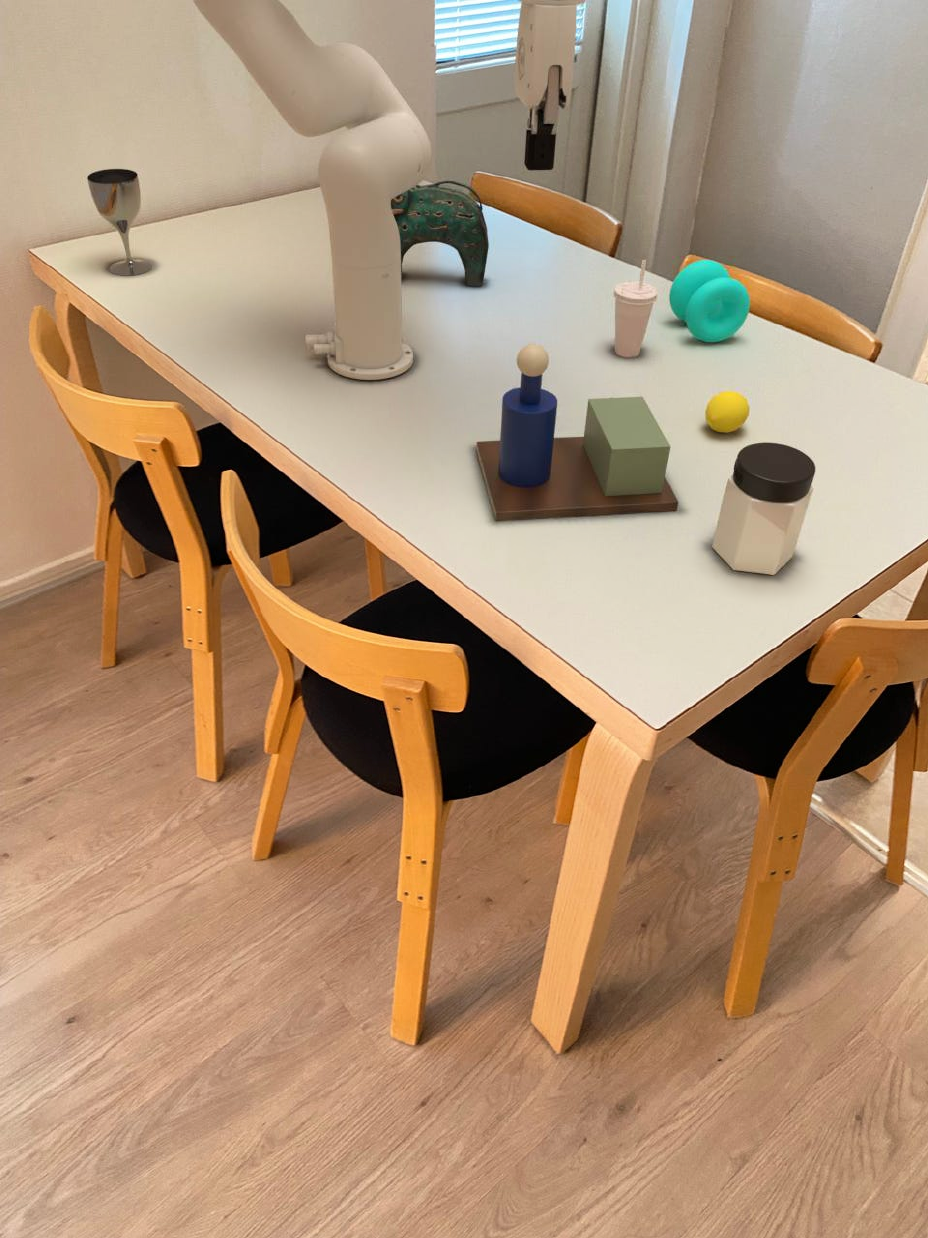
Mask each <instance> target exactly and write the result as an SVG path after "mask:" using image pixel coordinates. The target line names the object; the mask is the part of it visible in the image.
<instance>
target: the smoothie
mask: <svg viewBox="0 0 928 1238" xmlns="http://www.w3.org/2000/svg"><path fill="white" fill-rule="evenodd" d="M646 264H647V260H646V259H642V260H641V266H640V272H639V279H638V281H624V282H620V283H617V284H616V285H615V286H614V288H613V293H612V296H613V298H614V300H615V301H614V353H615V354H616V355H618V356H620V357H623V358H635V357H638V356H639V355H640V352H641V349H642V345H643V341H644V338H645V335H646V331H647V328H648V323H649V320H650V317H651V313H652V310H653V307H654V303H655V302H656V301H657V299H658V289H657V288H656V287H655V286H653V285H651V284H648V283H646V282H644V278H645V272H646Z"/></svg>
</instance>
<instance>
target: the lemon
mask: <svg viewBox="0 0 928 1238" xmlns="http://www.w3.org/2000/svg"><path fill="white" fill-rule="evenodd" d="M704 415H705V422H706V423H707V424H708V426H709V427H710V429H712V430H713V431H716V433H726V434H727V433H732V432H734V431H737V430H738V429H740V428H741V427H742V426H743V425H744V424H745V423H746V421H747V419H748V417H749V416H750V406H749V402H748V399H747V398H746V397H745V396H744V395H742V394H741V393H740V392H737V391H734V390H725V391H723V390H722V391H721V392H719V393H717V394H715V395H713V396H712V397H711V399H710V400H709V401H708V402H707V404H706V408H705V412H704Z"/></svg>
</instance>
